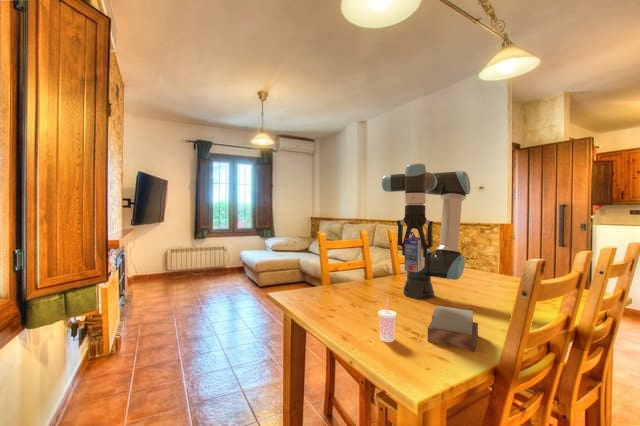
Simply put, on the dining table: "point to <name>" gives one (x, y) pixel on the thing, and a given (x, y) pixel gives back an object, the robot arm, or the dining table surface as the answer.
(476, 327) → the walnut base slab
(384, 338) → the beverage cup
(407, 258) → the ink cartridge box
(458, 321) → the grey top slab
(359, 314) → the dining table surface
